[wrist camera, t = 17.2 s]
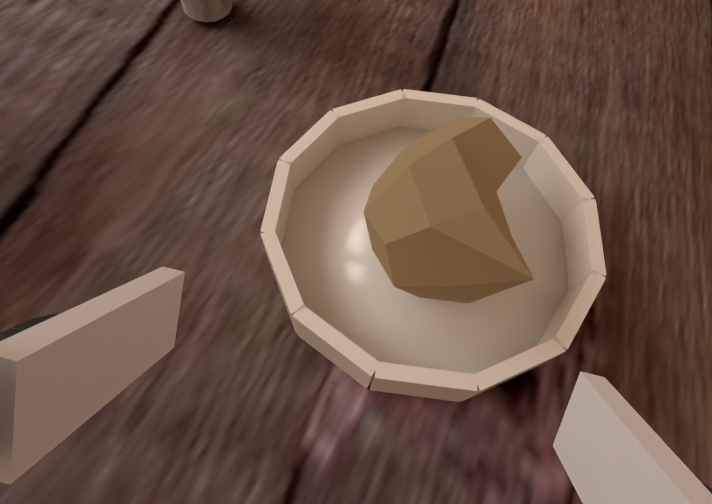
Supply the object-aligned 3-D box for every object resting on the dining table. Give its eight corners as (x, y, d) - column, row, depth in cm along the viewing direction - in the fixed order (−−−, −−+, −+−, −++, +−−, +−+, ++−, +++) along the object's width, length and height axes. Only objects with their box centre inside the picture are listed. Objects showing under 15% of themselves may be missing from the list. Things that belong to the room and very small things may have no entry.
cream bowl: (208, 266, 35) (192, 239, 31) (387, 89, 44) (392, 51, 40) (477, 475, 29) (500, 475, 25) (618, 221, 38) (651, 192, 34)
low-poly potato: (413, 363, 31) (587, 314, 28) (337, 278, 24) (560, 197, 20) (391, 216, 41) (516, 166, 38) (333, 124, 34) (482, 52, 30)
